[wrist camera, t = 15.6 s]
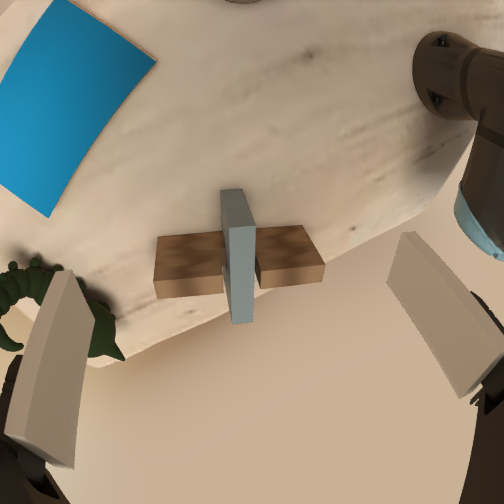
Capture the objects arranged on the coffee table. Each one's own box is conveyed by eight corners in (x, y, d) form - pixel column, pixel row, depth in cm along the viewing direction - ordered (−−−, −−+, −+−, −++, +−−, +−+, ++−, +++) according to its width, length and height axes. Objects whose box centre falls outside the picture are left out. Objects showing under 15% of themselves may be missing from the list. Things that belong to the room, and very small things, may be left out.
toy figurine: (15, 263, 43) (119, 337, 55) (-33, 337, 27) (102, 421, 39) (33, 228, 40) (145, 313, 52) (-26, 304, 24) (131, 404, 36)
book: (157, 60, 27) (49, 220, 35) (160, 60, 31) (59, 206, 38) (54, -8, 18) (-35, 159, 26) (66, -3, 22) (-20, 150, 29)
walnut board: (302, 225, 48) (325, 264, 40) (300, 241, 50) (321, 281, 42) (158, 236, 44) (153, 281, 36) (161, 253, 46) (157, 299, 38)
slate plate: (220, 190, 42) (229, 227, 34) (242, 189, 42) (255, 225, 34) (224, 279, 51) (232, 324, 43) (241, 277, 52) (252, 321, 44)
